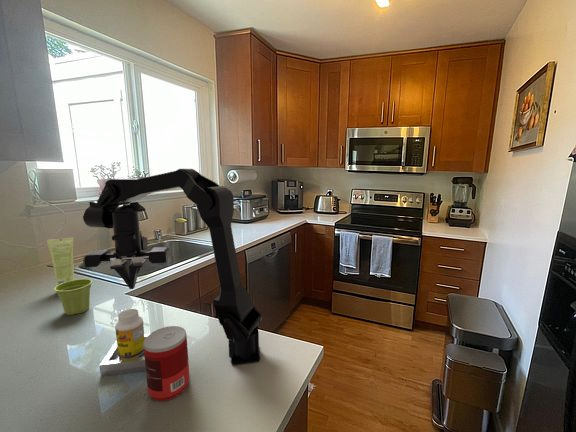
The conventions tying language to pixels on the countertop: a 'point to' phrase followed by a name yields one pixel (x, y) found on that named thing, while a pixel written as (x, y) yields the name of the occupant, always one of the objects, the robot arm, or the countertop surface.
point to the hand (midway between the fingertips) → (132, 288)
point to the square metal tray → (121, 363)
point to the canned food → (166, 362)
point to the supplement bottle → (130, 334)
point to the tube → (62, 259)
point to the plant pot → (74, 295)
